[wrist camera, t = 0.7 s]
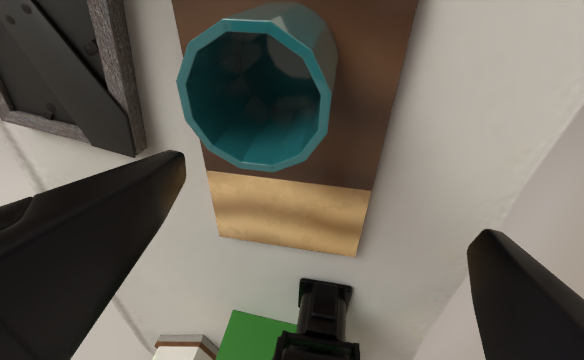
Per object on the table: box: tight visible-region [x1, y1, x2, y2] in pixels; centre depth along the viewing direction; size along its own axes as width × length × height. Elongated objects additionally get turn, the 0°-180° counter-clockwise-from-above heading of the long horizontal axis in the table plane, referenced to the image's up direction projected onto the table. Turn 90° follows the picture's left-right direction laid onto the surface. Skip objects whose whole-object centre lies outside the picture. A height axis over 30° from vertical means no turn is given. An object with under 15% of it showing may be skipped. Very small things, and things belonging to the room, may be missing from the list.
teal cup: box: [176, 2, 339, 172], centre depth 16 cm, size 7×7×8 cm
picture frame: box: [0, 0, 147, 158], centre depth 21 cm, size 13×2×18 cm
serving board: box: [172, 0, 418, 257], centre depth 23 cm, size 24×15×1 cm, turn 179°
